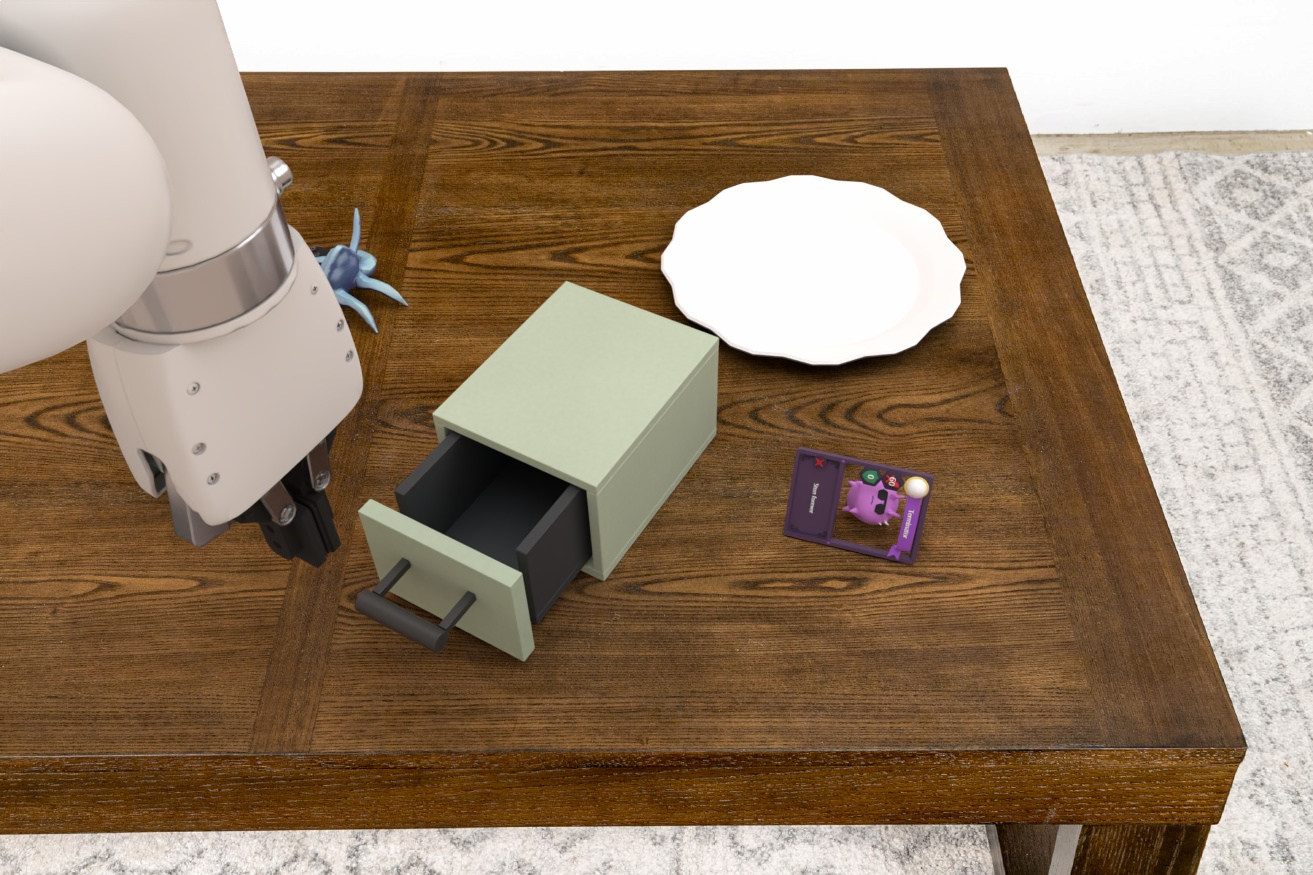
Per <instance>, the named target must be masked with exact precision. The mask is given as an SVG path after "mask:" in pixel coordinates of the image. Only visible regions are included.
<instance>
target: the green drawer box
mask: <svg viewBox="0 0 1313 875" xmlns="http://www.w3.org/2000/svg"><path fill="white" fill-rule="evenodd" d="M719 345H720V338H719V337H718V336H716V335H713V334H710V333H707V332H705V331H702V330H699V329H696V328H694V327H691V326H689V325H686V324H683V323H681V322H678V321H676V320H672V319H670V318H667V317H665V316H661V315H659V314H656V313H653V312H651V311H649V310H646V309H643V308H640V307H638V306H634V305H632V304H629V303H627V302H624V301H621V300H618V299H616V298H613V297H611V296H608V295H605V294H602V293H600V292H597V291H594V290H591V289H589V288H587V287H583V286H581V285H578V284H576V283H573V282H571V281H568V280H565V281H564V282H563V283H562V284H561V285H560V286H559V287H558V288H557V290H555V292H553V293H552V294H551V295H550V296H549V297H548V298H547V299H546V300H545V301H544V302H543V303H542V304H541V305H540V306H539V307H538V308H537V309H536V310H535V311H534V312H533V313H532V314H531V315H530V316H529V317H528V318H527V319H526V320H525V321H524V322H523V323H522V324H521V325H520V326H519V327H518V328H517V329H516V330H515V331H514V332H513V333H512V334H511V335H510V336H509V337H507V339H506V340H505V341H503V343H502V344H501V345H500V346H499V347H498V348H496V350H495V351H494V352H493V353H492V354H491V355H490V356H489V357H488V358H487V359H486V360H485V361H483V363H482V364H480V366H479V367H478V368H476V370H475V371H474V372H472V373H471V374H470V376H468V377H467V379H466V380H464V381H463V383H461V384H460V386H459V387H457V389H456V390H454V391H453V392H452V394H450V395H449V396H448V397H447V398H446V399H445V401H443V402H442V403H441V404H440V405H439V406H438V407H437V408H436V409H435V410H434V411H433V412H432V414H431V416H432V421H433V422H434V423H433V424H434V428H435V433H436V437H437V442H438V445H439V444H440V443H441V442H442V441H443V440H444V439H445V438H446V437H447V436H448V435H449V434H450V433H451V432H452V431H455V432H457V433H460V434H462V435H464V436H466V437H469V438H471V439H473V440H475V441H477V442H480V443H482V444H484V445H486V446H489V447H491V448H493V449H495V450H498V451H500V452H502V453H504V454H506V455H509V456H511V457H513V458H515V459H518V460H520V461H522V462H524V463H527V464H529V465H531V466H533V467H536V468H538V469H540V470H542V471H544V472H547V473H549V474H551V475H553V476H556V477H558V478H560V479H562V480H565V481H567V482H569V483H571V484H573V485H576V486H578V487H580V488H582V489H585V490H587V501H588V512H589V522H590V533H591V544H592V554H593V555H592V556H591V557H590V559H589V560H588V561H587V563H586V564H585V565H584V566H583V568H582V569H581V570H580V572H583V573H585V574H588V575H590V576H592V577H593V578H596V579H598V580H600V581H601V582H605V581H606V580H607V579H608V577H609V576H610V575H611V573H613V570H614V569H616V567H617V566H618V564H619V563H620V562H621V560H622V559H623V557H624V556H625V555H626V554H627V552H628V550H630V548H631V547H632V546H633V544H635V542H636V541H637V539H638V538H639V537H640V535H641V534H642V533H643V532H644V530H645V529H646V527H647V526H648V525H649V524H650V522H651V521H652V519H653V518H654V517H655V516H656V514H658V511H659V510H660V509H661V508H662V507H663V505H664V504H665V502H666V501H667V500H668V499H669V497H670V496H671V495H672V493H673V492H674V491H675V489H676V488H677V487H678V485H680V483H681V481H682V480H683V479H684V478H685V476H686V475H687V474H688V472H689V471H690V470H691V469H692V467H693V466H694V465H695V463H696V462H697V460H698V459H699V458H700V456H702V454H703V453H704V451H705V450H706V449H707V447H708V446H709V445H710V444H711V442H712V441H713V440H714V438H715V437H716V436H717V420H718V418H717V417H718V386H719V382H718V380H719V349H720V348H719Z"/></svg>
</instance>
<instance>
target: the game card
mask: <svg viewBox="0 0 1313 875" xmlns="http://www.w3.org/2000/svg"><path fill="white" fill-rule="evenodd" d="M847 464H849V465H854V466H859V467H864V468H863V469H862V470H861V471H860V472H858V475H859V478H860V480H856V481H853V480H848V481H847V483H848V485H850V486H851V487H850V488H849V490H848V492H847V494H846V497H845V499H846V506H843V507H842V508H841V509H842V511H844V512H848V513H851V514H852V515H853V516H854V517H855V518H857V519H858V520H859V521H861V522H863V523H865V524H869V525H880V526H882V524H885V525H886V526H890V525H889V523H888V522H889V521H890V520H891V519H892V518H893V517H895V518H897V519H898V518H899V519H900V518H902V516H901V515H900V514H899V513H897V511H898V509H899V508H898V507H899V499H906V501H905V506H904V512H903V518H902V522H901V526H900V531H899V534H898V538H897V542H896V544H892V545H891V547H890V549H889V550H885V549H881V548H877V547H872V546H868V545H864V544H859V543H856V542H851V541H848V540H847V541H846V540H842V539H838V538H834V537H833V536H834V530H835V527H836V526H835V525H836V520H837V514H838V511H839V510H838V508H839V504H840V500H841V499H840V498H841V493H842V488H843V482H844V476H845V471H846V466H847ZM882 472H885V473H884V474H882ZM903 476H905V477H909V478H907V480H906V481H904V479H903ZM934 480H935V476H934V475H932V474H930V473H925V472H920V471H917V470H912V469H908V468H907V469H906V468H903V467H898V466H894V465H893V466H892V465H888V464H885V463H884V464H883V463H879V462H876V461H875V462H874V461H870V460H864V459H861V458H855V457H851V456H846V455H842V454H837V453H833V452H828V451H823V450H819V449H813V448H809V447H804V446H798V447H797V449H796V451H795V457H794V462H793V468H792V474H791V481H790V486H789V492H788V499H787V504H786V505H787V506H786V513H785V518H784V525H783V530H782V531H783V532H782V533H783V534H784V536H788V537H792V538H796V539H801V540H805V541H808V542H813V543H818V544H821V545H826V546H831V547H835V548H838V549H843V550H847V551H852V552H856V553H861V554H865V555H868V556H873V557H878V558H882V559H885V560H886V559H887V560H891V561H894V562H899V563H902V564H908V565H914V564H915V563H916V560H917V556H918V552H919V547H920V542H921V538H922V533H923V529H924V525H925V520H926V516H927V512H928V507H929V503H930V498H931V494H932V491H933V490H932V489H933V485H934ZM902 487H903V489H904V492H905V494H906V496H905V495H903V494H898V493H897V491H899V489H901V488H902ZM901 552H906V553H909V555H908V554H902V553H901Z"/></svg>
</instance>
